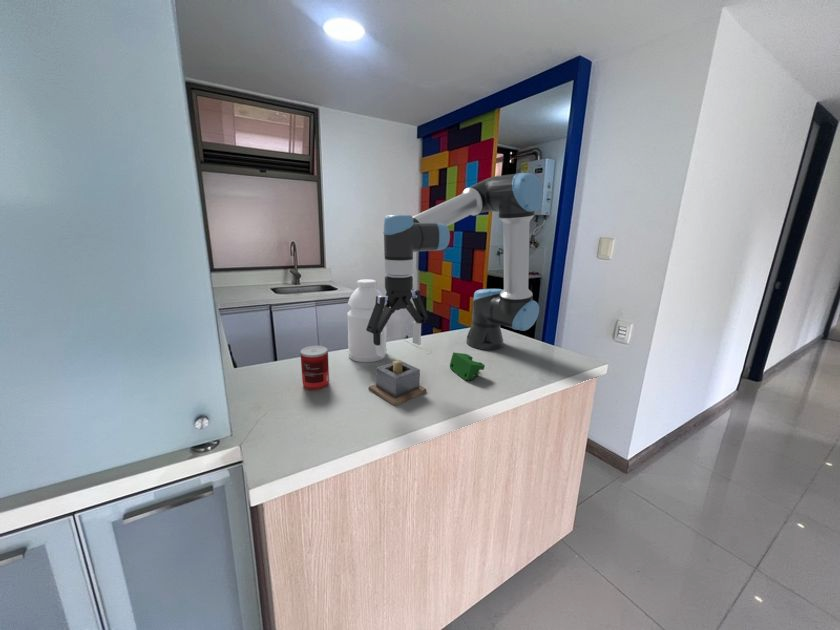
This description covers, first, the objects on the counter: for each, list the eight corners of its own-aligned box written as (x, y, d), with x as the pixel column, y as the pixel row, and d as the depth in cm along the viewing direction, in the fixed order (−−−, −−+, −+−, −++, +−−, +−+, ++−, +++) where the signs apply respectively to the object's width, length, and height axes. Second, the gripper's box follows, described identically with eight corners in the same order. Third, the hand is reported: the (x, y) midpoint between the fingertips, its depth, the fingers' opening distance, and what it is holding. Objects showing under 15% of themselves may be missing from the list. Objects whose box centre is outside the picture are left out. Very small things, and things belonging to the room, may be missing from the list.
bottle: (393, 353, 127) (394, 280, 119) (372, 366, 115) (371, 285, 107) (363, 346, 133) (362, 276, 126) (340, 357, 121) (337, 281, 114)
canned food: (321, 376, 106) (319, 343, 103) (334, 385, 101) (332, 350, 98) (297, 383, 101) (295, 349, 98) (310, 393, 95) (308, 357, 93)
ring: (399, 378, 104) (399, 360, 103) (419, 388, 98) (419, 369, 96) (376, 386, 98) (375, 367, 97) (395, 398, 92) (395, 378, 90)
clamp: (475, 389, 110) (489, 370, 105) (460, 388, 107) (474, 368, 103) (461, 363, 119) (473, 344, 114) (447, 362, 116) (459, 342, 112)
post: (399, 377, 106) (400, 351, 104) (426, 391, 98) (427, 363, 96) (368, 389, 98) (368, 361, 96) (394, 405, 90) (394, 375, 88)
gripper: (422, 269, 100) (421, 336, 106) (350, 278, 84) (354, 356, 89) (440, 272, 95) (438, 342, 101) (368, 282, 78) (370, 365, 84)
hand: (399, 349), depth 95 cm, fingers open, 13 cm apart
